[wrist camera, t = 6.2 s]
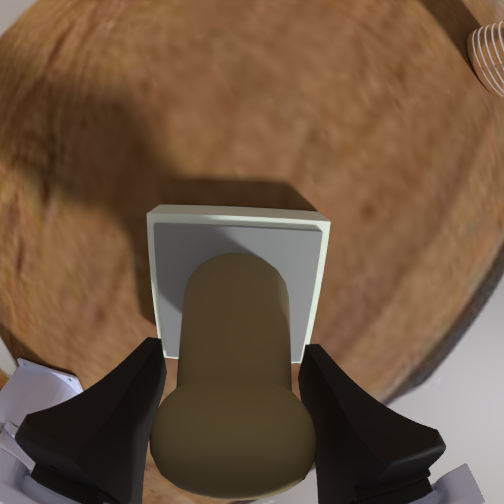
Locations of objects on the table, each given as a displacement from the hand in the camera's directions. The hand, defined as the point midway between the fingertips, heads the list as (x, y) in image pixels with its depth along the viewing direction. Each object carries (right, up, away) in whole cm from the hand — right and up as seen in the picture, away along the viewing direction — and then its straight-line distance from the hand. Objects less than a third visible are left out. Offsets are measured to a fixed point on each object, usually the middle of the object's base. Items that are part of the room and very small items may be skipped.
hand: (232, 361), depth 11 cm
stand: (0, +3, +7) cm, 8 cm away
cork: (0, +2, +5) cm, 5 cm away
